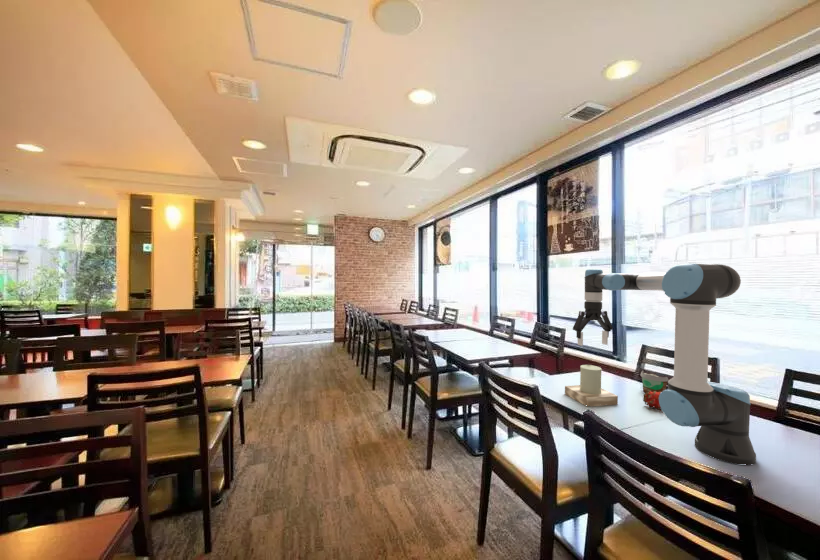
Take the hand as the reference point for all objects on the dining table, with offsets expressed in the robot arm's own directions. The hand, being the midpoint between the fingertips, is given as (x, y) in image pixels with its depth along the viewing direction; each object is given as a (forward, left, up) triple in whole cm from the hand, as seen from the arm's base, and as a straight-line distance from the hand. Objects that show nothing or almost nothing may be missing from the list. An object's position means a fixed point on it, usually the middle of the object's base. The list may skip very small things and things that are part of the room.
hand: (592, 344), depth 158 cm
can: (0, 0, -23) cm, 23 cm away
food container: (+1, -36, -27) cm, 45 cm away
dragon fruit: (-14, -23, -27) cm, 38 cm away
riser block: (0, 0, -27) cm, 27 cm away
